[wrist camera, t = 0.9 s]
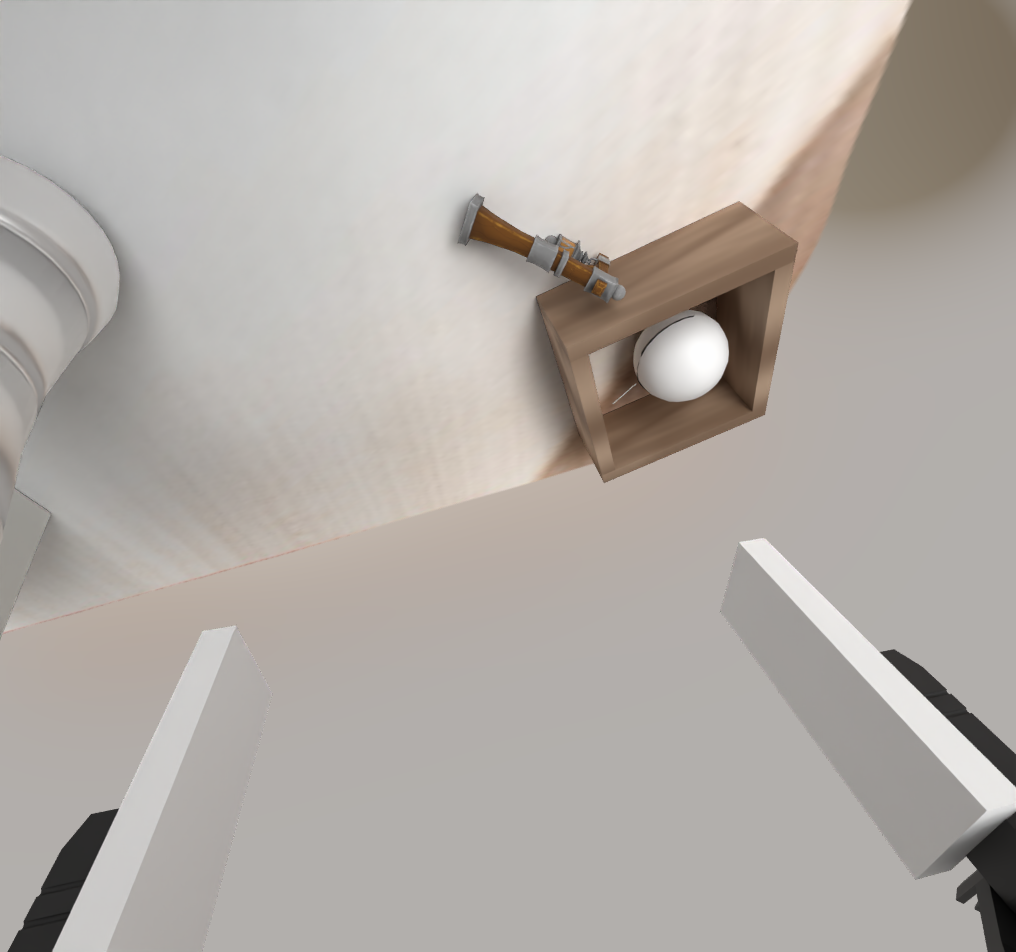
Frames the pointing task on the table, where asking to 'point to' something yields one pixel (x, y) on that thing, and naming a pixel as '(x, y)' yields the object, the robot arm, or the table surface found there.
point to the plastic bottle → (44, 301)
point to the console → (18, 549)
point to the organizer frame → (658, 296)
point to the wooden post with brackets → (542, 251)
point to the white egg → (681, 356)
